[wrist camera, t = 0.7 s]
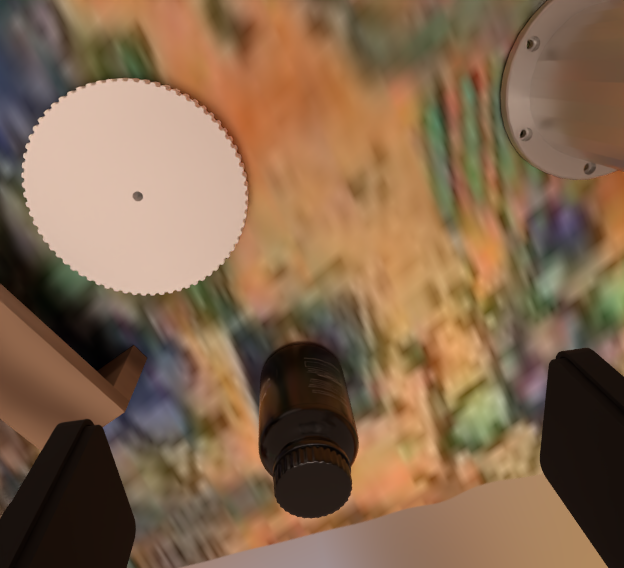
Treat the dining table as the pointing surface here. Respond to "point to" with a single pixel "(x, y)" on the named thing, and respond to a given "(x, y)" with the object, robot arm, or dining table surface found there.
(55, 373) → the walnut bridge
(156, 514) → the dining table surface
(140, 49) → the dining table surface
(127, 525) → the robot arm
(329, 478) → the supplement bottle
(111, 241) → the plastic lid
